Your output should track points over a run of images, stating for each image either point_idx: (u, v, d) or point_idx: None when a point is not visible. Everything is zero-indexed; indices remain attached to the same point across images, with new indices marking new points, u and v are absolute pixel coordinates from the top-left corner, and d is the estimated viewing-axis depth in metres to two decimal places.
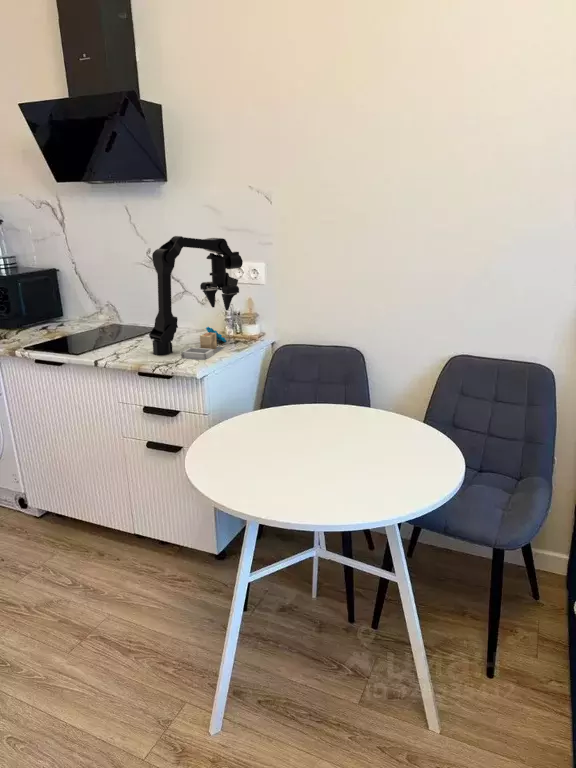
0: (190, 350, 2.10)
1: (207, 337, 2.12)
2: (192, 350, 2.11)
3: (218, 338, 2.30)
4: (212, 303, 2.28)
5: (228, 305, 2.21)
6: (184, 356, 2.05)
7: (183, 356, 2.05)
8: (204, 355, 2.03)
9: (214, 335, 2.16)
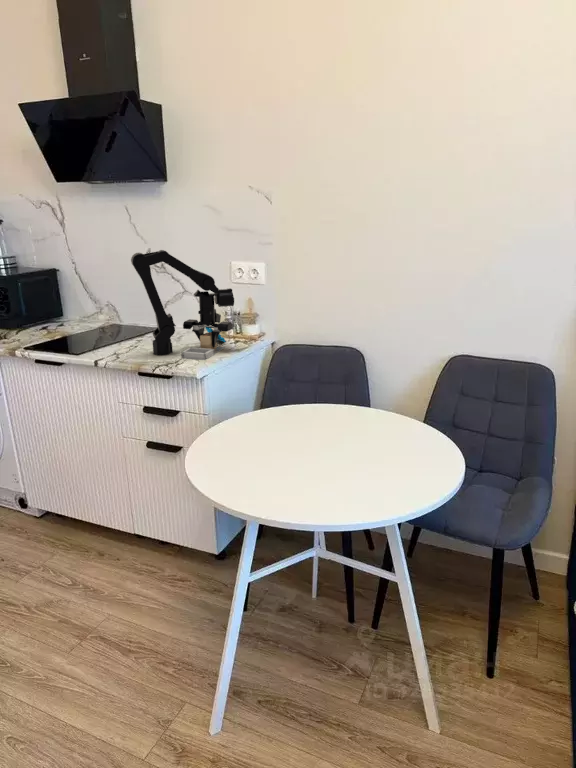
0: (190, 350, 2.10)
1: (207, 337, 2.12)
2: (192, 350, 2.11)
3: (218, 338, 2.30)
4: None
5: (215, 342, 2.15)
6: (184, 356, 2.05)
7: (183, 356, 2.05)
8: (204, 355, 2.03)
9: None
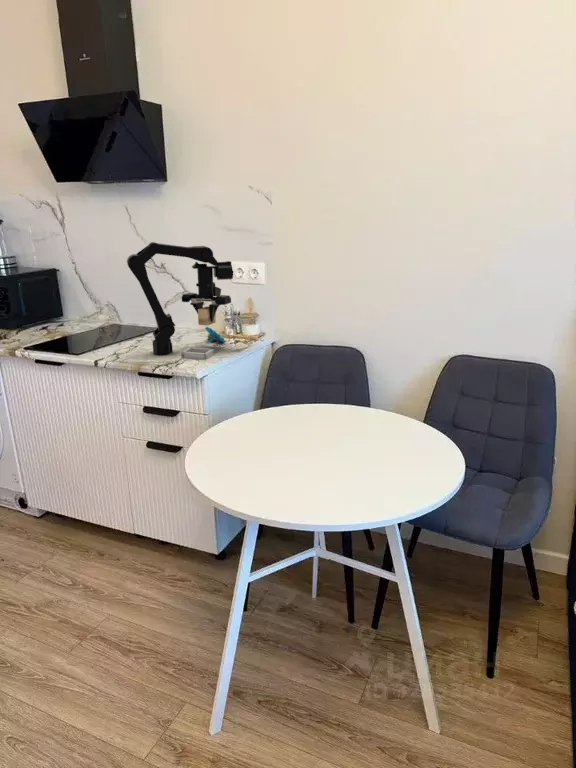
0: (190, 350, 2.10)
1: (205, 310, 2.08)
2: (192, 350, 2.11)
3: (217, 338, 2.30)
4: None
5: (213, 316, 2.11)
6: (184, 356, 2.05)
7: (183, 356, 2.05)
8: (204, 355, 2.03)
9: None
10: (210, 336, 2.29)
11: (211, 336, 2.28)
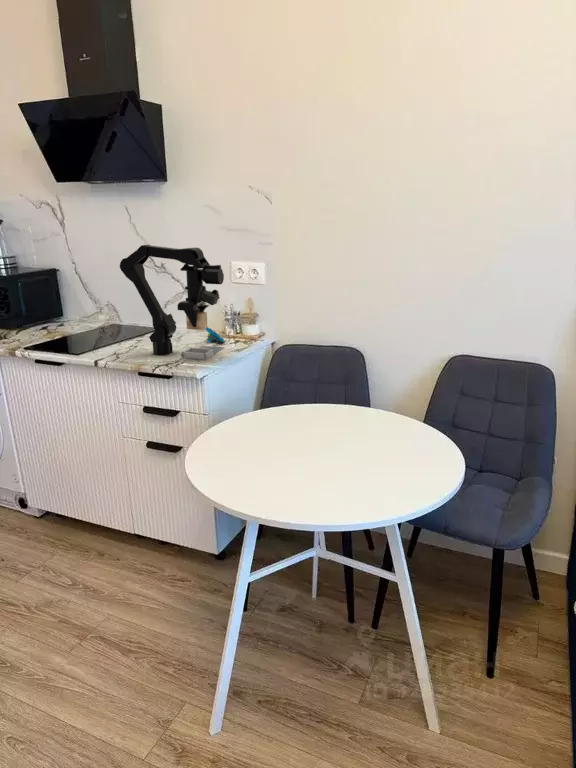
0: (190, 350, 2.10)
1: None
2: (192, 350, 2.11)
3: (217, 338, 2.30)
4: None
5: (193, 321, 2.01)
6: (184, 356, 2.05)
7: (183, 356, 2.05)
8: (204, 355, 2.03)
9: (198, 315, 2.01)
10: (210, 336, 2.29)
11: (211, 336, 2.28)
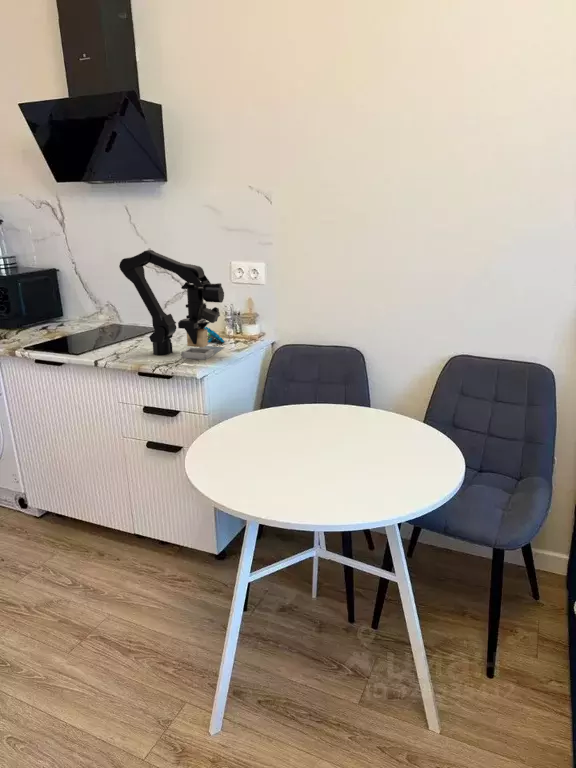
0: (190, 350, 2.10)
1: None
2: (192, 350, 2.11)
3: (217, 338, 2.30)
4: None
5: (194, 339, 2.03)
6: (184, 356, 2.05)
7: (183, 356, 2.05)
8: (204, 355, 2.03)
9: (198, 332, 2.02)
10: (209, 336, 2.29)
11: (210, 336, 2.28)
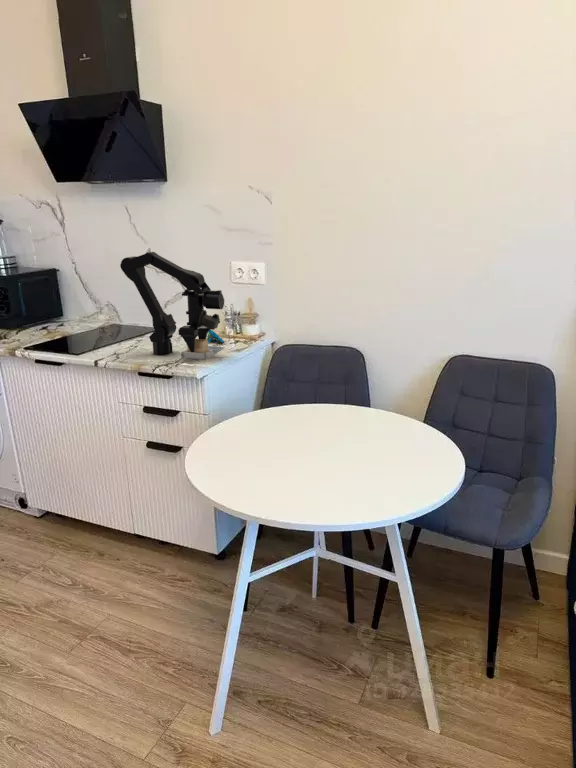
0: None
1: None
2: None
3: (216, 338, 2.30)
4: None
5: (191, 347, 2.01)
6: (184, 356, 2.05)
7: (183, 356, 2.05)
8: (204, 355, 2.03)
9: (199, 343, 2.04)
10: (209, 336, 2.29)
11: (210, 336, 2.28)
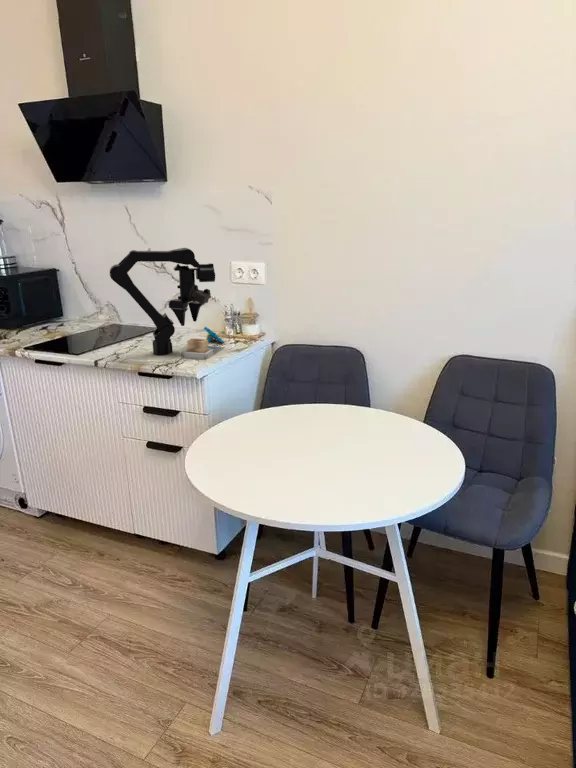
0: None
1: None
2: None
3: (216, 338, 2.30)
4: (193, 317, 2.14)
5: (181, 320, 2.05)
6: (184, 356, 2.05)
7: (183, 356, 2.05)
8: (204, 355, 2.03)
9: (199, 343, 2.04)
10: (209, 336, 2.29)
11: (209, 336, 2.28)
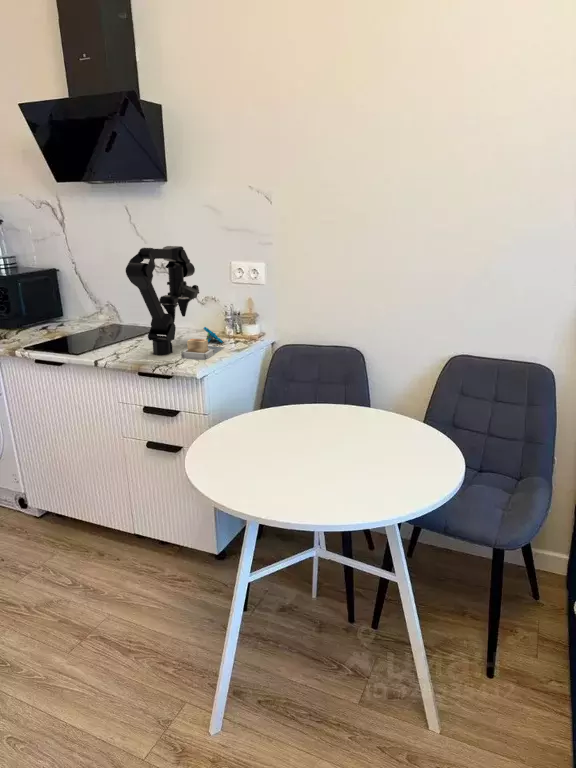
0: None
1: None
2: None
3: (215, 338, 2.30)
4: (182, 312, 2.23)
5: (172, 315, 2.14)
6: (184, 356, 2.05)
7: (183, 356, 2.05)
8: (204, 355, 2.03)
9: (199, 343, 2.04)
10: (208, 336, 2.29)
11: (209, 336, 2.28)
